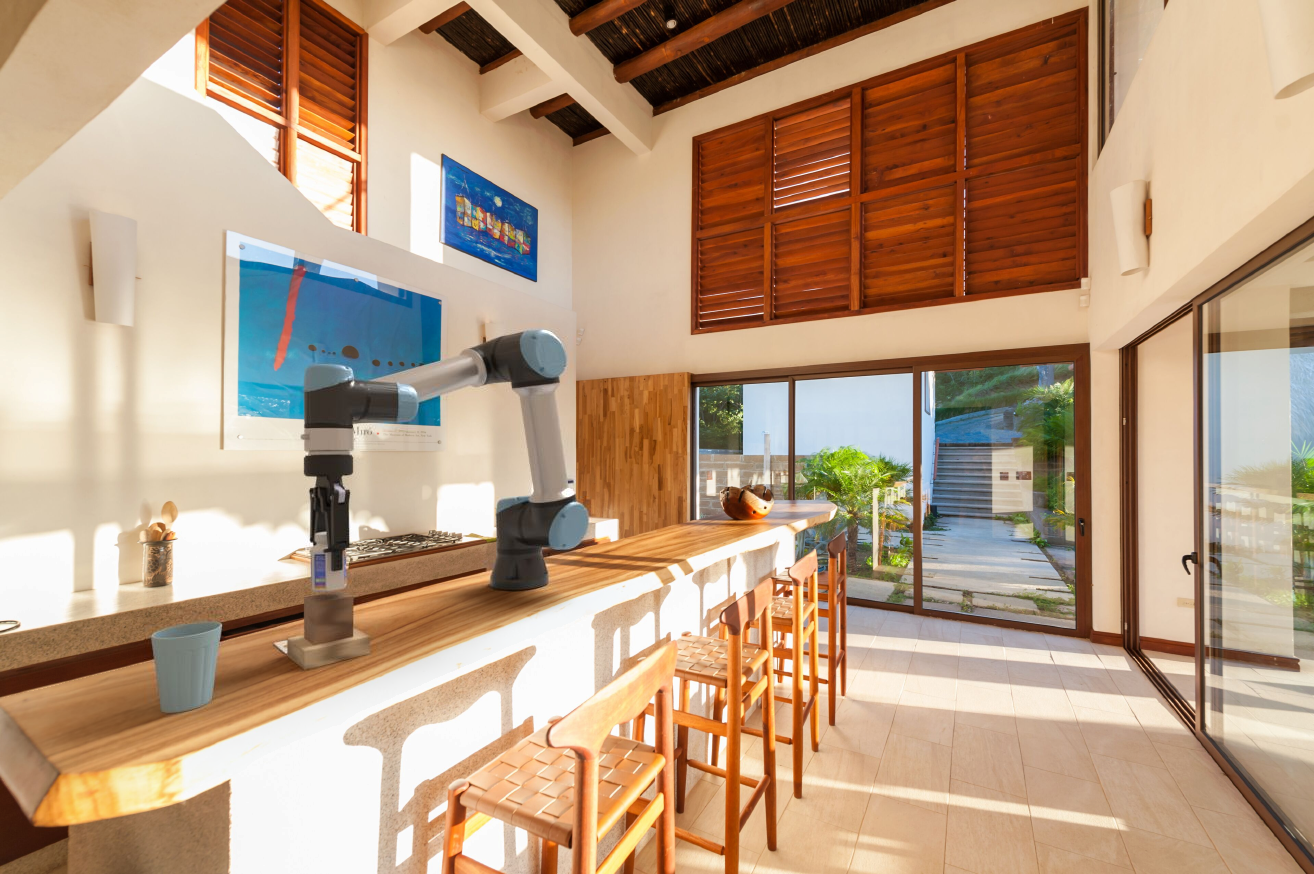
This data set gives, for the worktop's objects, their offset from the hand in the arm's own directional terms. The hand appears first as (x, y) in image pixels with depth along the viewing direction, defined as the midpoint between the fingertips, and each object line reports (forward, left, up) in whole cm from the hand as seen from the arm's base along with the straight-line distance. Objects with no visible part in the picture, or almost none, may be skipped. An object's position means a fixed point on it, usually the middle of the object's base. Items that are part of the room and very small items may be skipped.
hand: (329, 586), depth 100 cm
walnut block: (0, 0, -9) cm, 9 cm away
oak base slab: (0, 0, -12) cm, 12 cm away
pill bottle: (0, 0, -1) cm, 1 cm away
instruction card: (0, -10, -12) cm, 15 cm away
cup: (+20, +7, -12) cm, 24 cm away
